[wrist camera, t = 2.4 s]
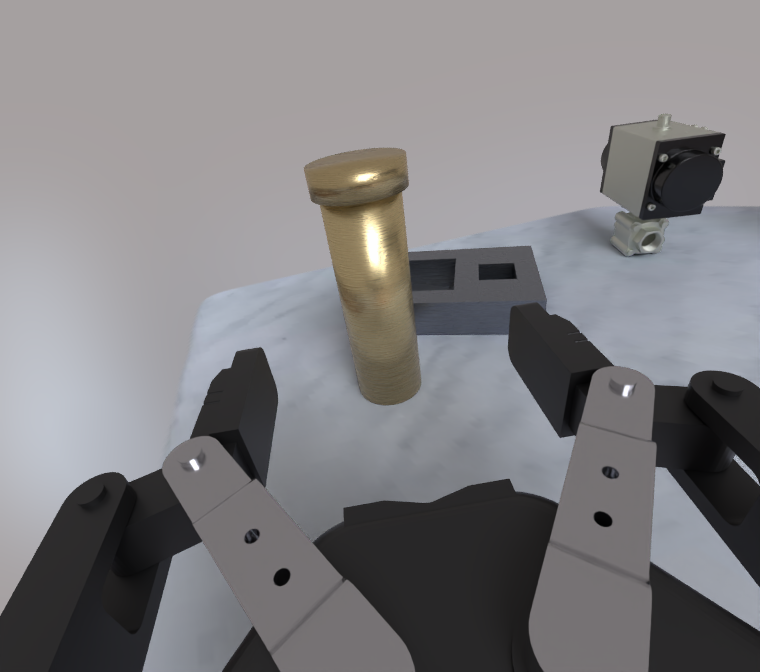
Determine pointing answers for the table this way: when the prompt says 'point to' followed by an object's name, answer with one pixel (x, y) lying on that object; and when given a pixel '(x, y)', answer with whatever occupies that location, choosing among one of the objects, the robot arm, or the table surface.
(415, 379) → the brass headed pin
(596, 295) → the table surface
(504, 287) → the plate
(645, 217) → the pneumatic valve
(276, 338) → the table surface
